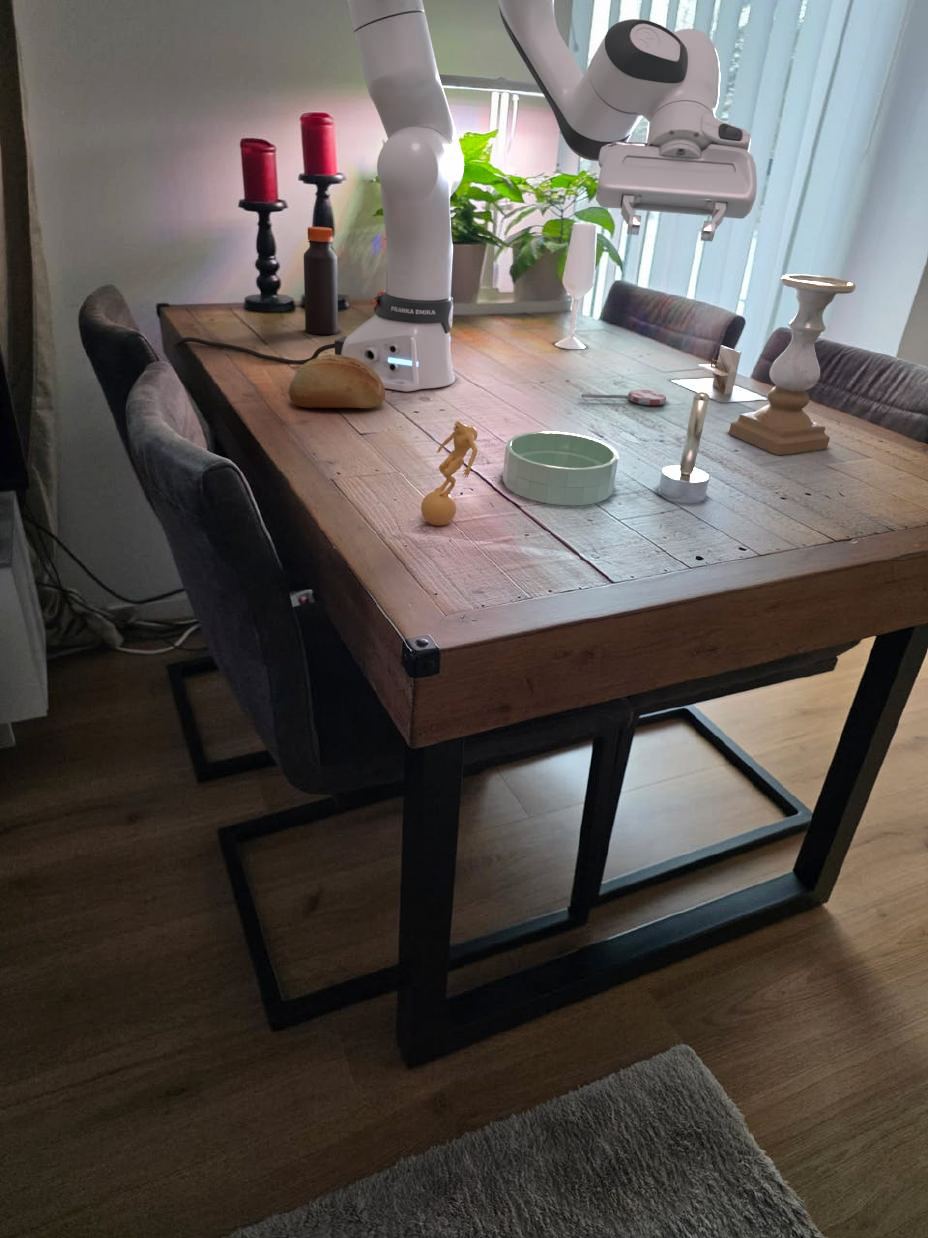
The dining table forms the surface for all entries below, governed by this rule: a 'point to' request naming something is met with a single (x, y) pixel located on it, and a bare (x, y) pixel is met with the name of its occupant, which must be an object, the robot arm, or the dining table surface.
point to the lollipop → (636, 397)
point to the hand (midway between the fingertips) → (670, 234)
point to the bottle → (320, 283)
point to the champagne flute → (579, 273)
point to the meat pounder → (688, 461)
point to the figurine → (439, 503)
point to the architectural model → (721, 379)
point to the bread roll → (336, 384)
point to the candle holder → (794, 375)
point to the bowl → (559, 468)
